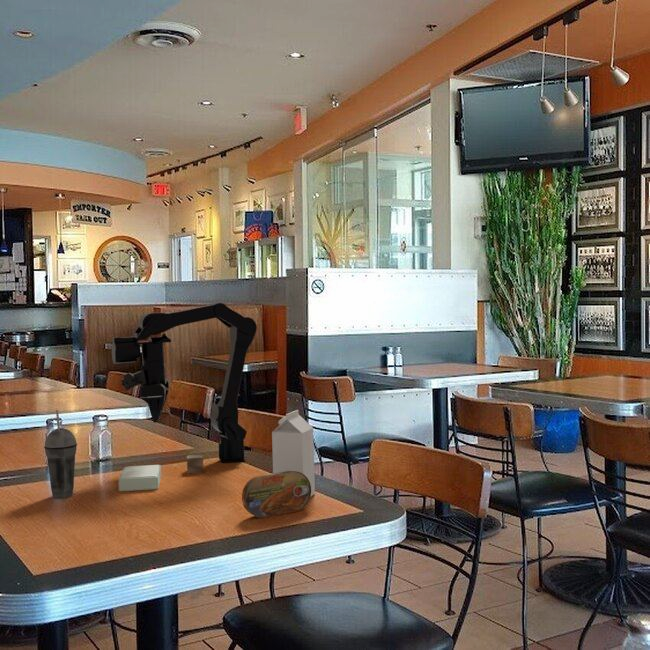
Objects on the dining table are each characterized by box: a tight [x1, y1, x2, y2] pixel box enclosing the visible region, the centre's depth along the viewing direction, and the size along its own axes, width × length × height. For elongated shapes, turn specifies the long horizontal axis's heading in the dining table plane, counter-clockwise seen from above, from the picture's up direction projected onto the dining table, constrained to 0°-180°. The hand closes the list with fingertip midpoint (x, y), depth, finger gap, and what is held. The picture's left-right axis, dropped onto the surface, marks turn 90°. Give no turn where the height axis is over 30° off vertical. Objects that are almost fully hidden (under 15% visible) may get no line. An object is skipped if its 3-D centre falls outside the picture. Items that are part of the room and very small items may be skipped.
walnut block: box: [186, 454, 204, 475], centre depth 208 cm, size 4×4×4 cm
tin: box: [241, 471, 312, 519], centre depth 166 cm, size 15×3×8 cm, turn 120°
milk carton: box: [271, 409, 316, 498], centre depth 178 cm, size 7×7×19 cm
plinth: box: [117, 464, 162, 492], centre depth 196 cm, size 9×14×3 cm, turn 9°
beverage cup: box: [43, 409, 78, 499], centre depth 185 cm, size 7×7×20 cm
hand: (157, 419), depth 213 cm, fingers open, 9 cm apart
